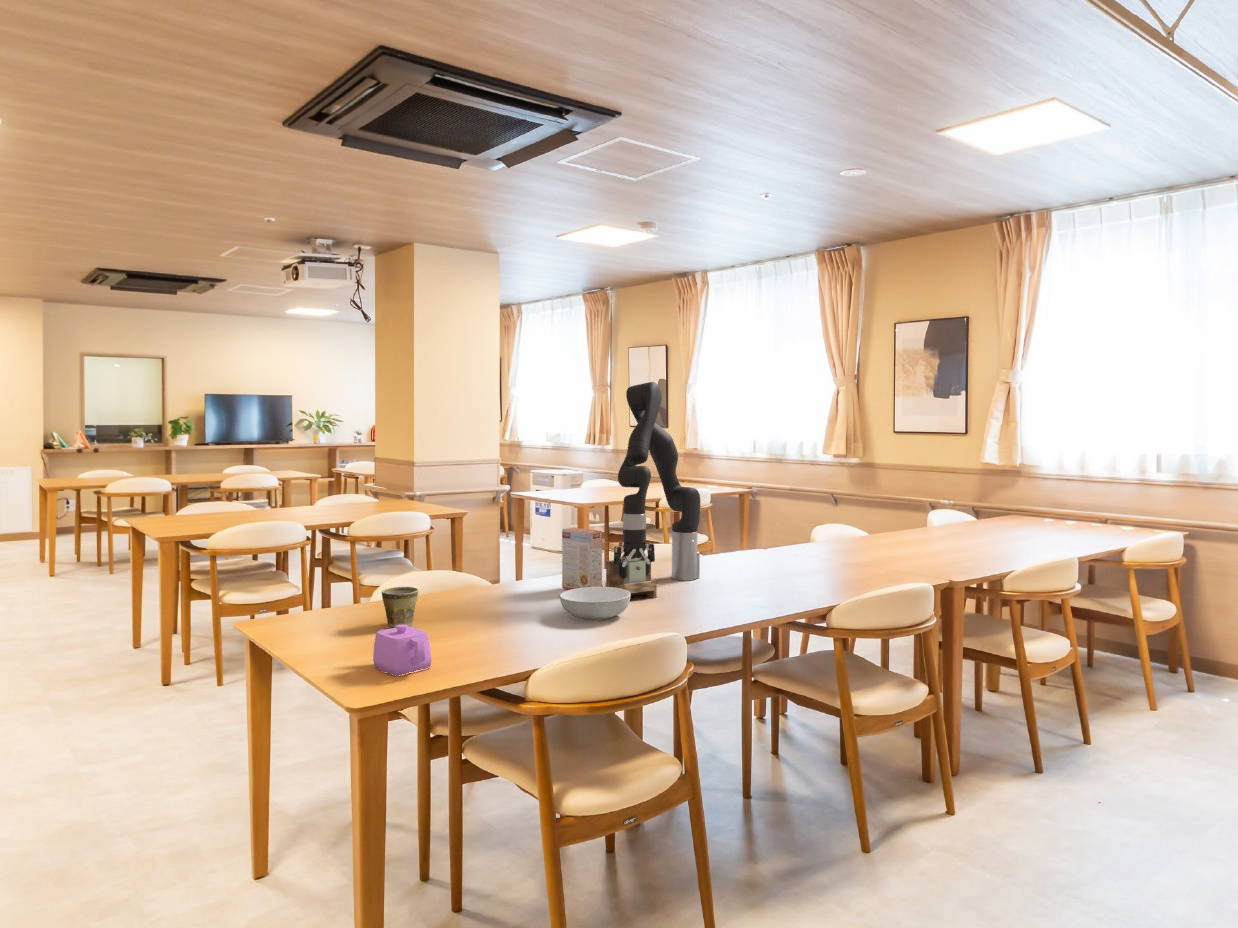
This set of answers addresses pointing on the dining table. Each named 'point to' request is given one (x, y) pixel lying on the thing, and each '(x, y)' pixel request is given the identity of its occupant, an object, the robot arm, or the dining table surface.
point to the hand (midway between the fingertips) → (634, 576)
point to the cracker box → (581, 558)
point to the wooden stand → (634, 588)
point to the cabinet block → (635, 571)
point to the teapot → (401, 650)
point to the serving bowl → (595, 602)
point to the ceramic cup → (400, 605)
